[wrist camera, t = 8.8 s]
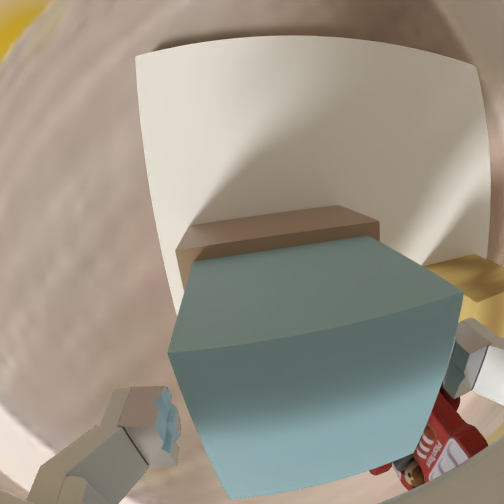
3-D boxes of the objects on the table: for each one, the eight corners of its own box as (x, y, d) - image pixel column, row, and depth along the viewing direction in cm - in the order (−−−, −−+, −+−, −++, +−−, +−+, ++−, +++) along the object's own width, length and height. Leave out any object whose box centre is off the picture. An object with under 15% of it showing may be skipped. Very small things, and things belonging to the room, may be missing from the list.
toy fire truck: (357, 460, 22) (391, 541, 12) (368, 376, 19) (436, 487, 9) (417, 436, 22) (459, 505, 13) (443, 347, 19) (522, 428, 9)
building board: (464, 68, 13) (518, 56, 8) (463, 324, 18) (504, 357, 13) (141, 63, 12) (106, 22, 7) (203, 388, 17) (200, 451, 12)
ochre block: (474, 253, 15) (528, 280, 10) (463, 320, 17) (507, 354, 12) (419, 266, 15) (476, 303, 10) (410, 339, 16) (453, 385, 12)
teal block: (367, 235, 10) (464, 291, 5) (362, 369, 12) (413, 453, 7) (193, 261, 10) (168, 352, 5) (224, 396, 11) (229, 498, 6)
